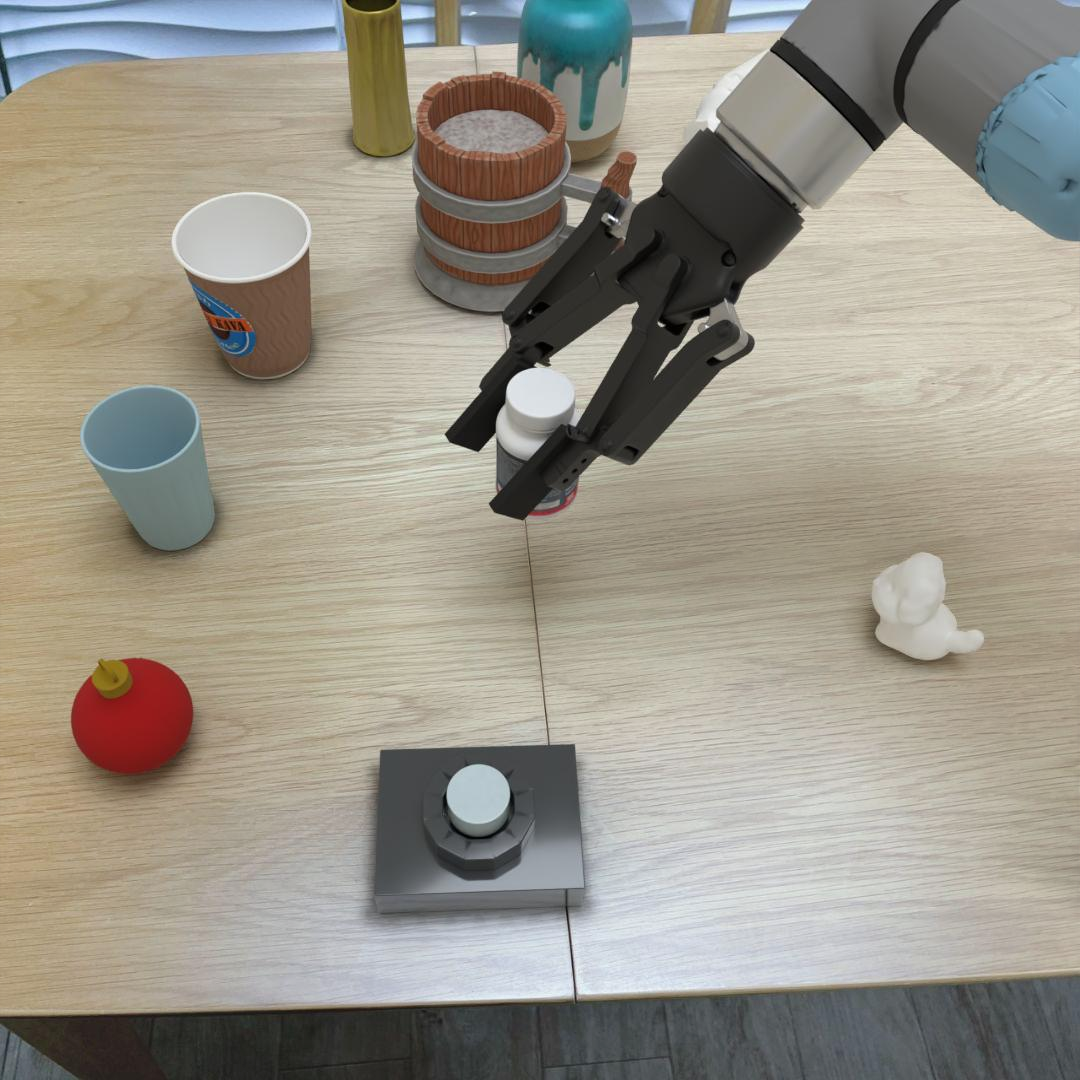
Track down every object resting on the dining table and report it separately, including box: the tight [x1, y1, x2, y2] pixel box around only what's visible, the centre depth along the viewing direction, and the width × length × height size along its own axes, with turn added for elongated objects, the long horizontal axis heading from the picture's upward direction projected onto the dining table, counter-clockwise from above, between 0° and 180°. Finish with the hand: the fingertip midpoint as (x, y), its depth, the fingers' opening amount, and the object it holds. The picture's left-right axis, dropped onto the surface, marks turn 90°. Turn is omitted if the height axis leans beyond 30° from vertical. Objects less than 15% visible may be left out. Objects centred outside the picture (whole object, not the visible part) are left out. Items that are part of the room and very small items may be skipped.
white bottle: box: [682, 45, 773, 146], centre depth 108 cm, size 8×19×8 cm, turn 135°
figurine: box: [871, 551, 985, 661], centre depth 74 cm, size 5×8×8 cm
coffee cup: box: [171, 191, 313, 380], centre depth 86 cm, size 10×10×12 cm
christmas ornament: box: [70, 657, 194, 775], centre depth 66 cm, size 7×7×10 cm
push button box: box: [373, 743, 586, 914], centre depth 65 cm, size 12×9×5 cm
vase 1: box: [341, 0, 415, 157], centre depth 103 cm, size 6×6×14 cm
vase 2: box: [516, 0, 634, 163], centre depth 101 cm, size 11×11×19 cm
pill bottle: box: [494, 367, 582, 521], centre depth 66 cm, size 5×5×9 cm
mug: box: [411, 70, 638, 313], centre depth 92 cm, size 14×19×15 cm
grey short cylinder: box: [447, 764, 510, 837], centre depth 63 cm, size 4×4×2 cm
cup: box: [79, 384, 216, 552], centre depth 76 cm, size 8×8×10 cm
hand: (483, 476), depth 66 cm, fingers closed on pill bottle, 5 cm apart
